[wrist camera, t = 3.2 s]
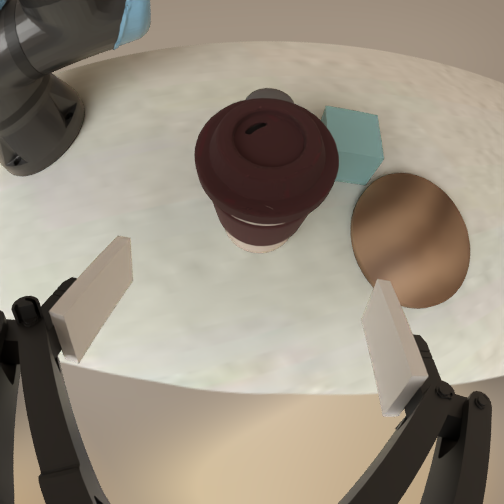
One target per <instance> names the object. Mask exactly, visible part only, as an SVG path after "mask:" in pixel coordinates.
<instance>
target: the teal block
mask: <svg viewBox="0 0 504 504" xmlns="http://www.w3.org/2000/svg"><path fill="white" fill-rule="evenodd" d="M321 121H322V122H323V123H324V125H325V126H326V127H327V128H328V130H329V131H330V133H331V135H332V136H333V138H334V140H335V143H336V146H337V150H338V154H339V169H338V173H337V177H336V180H335V181H340V182H347V183H354V184H361V185H366V184H367V182H368V181H369V179H370V178H371V177H372V175H373V174H374V172H375V171H376V170H377V168H378V167H379V165H380V164H381V162H382V161H383V160H384V156H383V148H382V141H381V135H380V128H379V122H378V116H377V115H374V114H369V113H364V112H359V111H354V110H348V109H343V108H337V107H331V106H326V107H325V110H324V113H323V116H322V119H321Z"/></svg>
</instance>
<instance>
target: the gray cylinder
mask: <svg viewBox="0 0 504 504" xmlns="http://www.w3.org/2000/svg"><path fill="white" fill-rule="evenodd" d="M256 98H272V99H280V100H284V101H288V102H291V103H294V102H293V100H292V99H291V98H290V97H289V96H288V95H287V94H286V93H284V92H282V91H280V90H277V89H271V88H264V89H259V90H256V91H254V92H252V93H251V94H250V95H249V96H248V97H247V98H246V100H248V99H256Z"/></svg>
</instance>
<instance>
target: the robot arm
mask: <svg viewBox="0 0 504 504" xmlns="http://www.w3.org/2000/svg"><path fill="white" fill-rule="evenodd" d="M149 27H150V0H0V163H1V165H2V166H3V167H4V168H6V169H7V170H8V171H9V172H10V173H11V174H13V175H16V176H28V175H32V174H35V173H37V172H39V171H41V170H43V169H45V168H46V167H48V166H49V165H51V164H52V163H53V162H55V161H56V160H57V159H58V158H59V157H60V156H61V155H62V154H63V153H64V152H65V151H66V150H67V149H68V147H69V146H70V145H71V144H72V142H73V141H74V139H75V138H76V136H77V134H78V132H79V130H80V128H81V126H82V123H83V119H84V105H83V102H82V101H81V99H80V97H79V95H78V94H77V92H76V91H75V90H74V89H73V88H72V87H70V86H69V85H68V84H66V83H65V82H63V81H62V80H60V79H59V78H58V77H56V76H55V75H53V74H52V72H54V71H56V70H59V69H61V68H63V67H65V66H68V65H71V64H73V63H75V62H78V61H81V60H83V59H86V58H88V57H91V56H94V55H96V54H99V53H102V52H105V51H108V50H111V49H113V50H114V49H116V48H118V47H119V46H120V45H123V44H126V43H129V42H131V41H134V40H137V39H139V38H141V37H143V36H144V35H145V34H146V33H147V31H148V29H149ZM132 282H133V272H132V258H131V240H130V238H128V237H122V236H117V237H116V238H115V239H114V240H113V241H112V242H111V243H110V244H109V245H108V246H107V247H106V248H105V250H104V251H103V252H102V253H101V254H100V255H99V256H98V257H97V258H96V259H95V260H94V261H93V262H92V263H91V264H90V265H89V266H88V268H87V269H86V270H85V271H84V272H83V273H82V274H81V275H80V276H79V277H78V278H73V277H71V278H70V279H68V280H66V281H64V282H63V283H62V284H61V285H60V286H59V287H58V288H57V290H56V291H55V292H54V293H53V295H51V296H50V297H49V298H48V299H47V301H46V302H45V303H44V304H43V305H42V306H40V303H39V300H38V299H37V298H36V297H33V296H24V297H22V298H19V299H18V300H16V301H15V302H14V304H13V305H12V312H13V315H14V317H15V320H9V319H6V318H5V315H4V313H3V312H2V311H0V504H14V478H13V450H14V428H15V427H14V426H15V414H16V403H17V394H18V386H19V379H20V372H21V377H22V384H23V392H24V398H25V404H26V410H27V416H28V421H29V426H30V430H31V435H32V439H33V444H34V448H35V452H36V455H37V459H38V463H39V466H40V470H41V474H40V475H39V484H40V488H41V491H42V494H43V497H44V500H45V503H46V504H110V502H109V501H108V499H107V498H106V496H105V494H104V492H103V490H102V488H101V486H100V484H99V482H98V479H97V477H96V475H95V472H94V470H93V467H92V465H91V463H90V460H89V457H88V455H87V452H86V449H85V447H84V444H83V441H82V438H81V436H80V433H79V430H78V427H77V424H76V420H75V417H74V414H73V411H72V407H71V404H70V401H69V397H68V393H67V390H66V386H65V382H64V378H63V374H62V370H61V366H60V361H59V358H58V354H59V353H60V351H61V350H62V352H63V355H64V358H65V359H67V360H70V361H72V362H75V363H78V364H79V363H80V361H81V359H82V358H83V356H84V355H85V353H86V351H87V350H88V348H89V347H90V345H91V343H92V342H93V340H94V339H95V337H96V336H97V334H98V332H99V331H100V329H101V328H102V326H103V325H104V323H105V322H106V320H107V319H108V317H109V316H110V314H111V313H112V311H113V310H114V308H115V307H116V305H117V304H118V302H119V301H120V299H121V298H122V296H123V295H124V293H125V292H126V290H127V289H128V288H129V286H130V285H131V283H132ZM361 321H362V325H363V329H364V333H365V337H366V341H367V345H368V349H369V353H370V358H371V362H372V366H373V371H374V375H375V380H376V384H377V389H378V394H379V399H380V404H381V409H382V414H383V416H399V414H400V413H401V412H402V411H403V410H404V409H405V413H406V417H405V418H404V419H403V420H402V421H401V422H400V424H399V425H398V426H397V427H396V431H395V432H394V434H393V435H392V436H391V438H390V439H389V441H388V442H387V444H386V445H385V446H384V448H383V449H382V450H381V452H380V453H379V454H378V456H377V457H376V458H375V460H374V461H373V462H372V464H371V465H370V466H369V467H368V469H367V470H366V471H365V472H364V474H363V475H362V476H361V477H360V479H359V480H358V481H357V482H356V483H355V485H354V486H353V487H352V488H351V489H350V490H349V492H348V493H347V494H346V495H345V496H344V497H343V499H342V500H341V501H340V502H339V503H338V504H398V502H399V501H400V499H401V498H402V496H403V495H404V493H405V492H406V490H407V489H408V487H409V485H410V484H411V482H412V481H413V479H414V478H415V476H416V474H417V472H418V471H419V469H420V467H421V466H422V464H423V462H424V460H425V459H426V457H427V455H428V453H429V451H430V449H431V448H432V446H433V444H434V442H435V440H436V438H437V442H436V447H435V452H434V456H433V460H432V464H431V468H430V472H429V476H428V479H427V483H426V486H425V490H424V493H423V496H422V500H421V503H420V504H483V499H484V492H485V487H486V480H487V472H488V462H489V453H490V440H491V417H492V415H491V414H492V406H491V401H490V400H489V398H488V397H487V396H486V395H485V394H483V393H482V392H478V391H475V392H473V393H472V394H471V395H470V396H469V397H468V398H467V397H463V396H460V395H456V394H455V392H454V390H453V388H452V387H451V386H450V385H449V384H448V383H446V382H444V381H441V378H440V376H439V373H438V370H437V368H436V365H435V363H434V360H433V359H432V355H431V353H430V350H429V348H428V345H427V343H426V342H425V341H424V339H423V338H422V337H421V336H420V335H413V334H412V331H411V329H410V326H409V324H408V321H407V319H406V317H405V314H404V312H403V309H402V307H401V305H400V302H399V300H398V298H397V296H396V293H395V291H394V289H393V287H392V284H391V282H390V281H386V280H380V279H377V281H376V284H375V286H374V289H373V291H372V294H371V296H370V299H369V301H368V304H367V306H366V309H365V311H364V313H363V316H362V318H361ZM437 436H438V437H437Z"/></svg>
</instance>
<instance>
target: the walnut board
mask: <svg viewBox="0 0 504 504" xmlns="http://www.w3.org/2000/svg"><path fill="white" fill-rule="evenodd" d="M351 241H352V247H353V251H354V255H355V258H356V260H357V263H358V265H359V267H360V269H361V271H362V273H363V274H364V276H365V277H366V279H367V280H368V282H369V283H370V284H371V285H372V286H373V288H374V286H375V284H376V281H377V279H380V280H386V281H390V282H391V284H392V287H393V289H394V291H395V293H396V296H397V298H398V300H399V302H400V305H401V306H403V307H408V308H417V309H420V308H427V307H431V306H435V305H438V304H440V303H442V302H445V301H446V300H448V299H449V298H450V297H452V296H453V295H454V294H455V293H456V292H457V290H458V289H459V288H460V286H461V285H462V283H463V281H464V279H465V276H466V274H467V271H468V267H469V260H470V243H469V237H468V232H467V229H466V225H465V223H464V220H463V218H462V216H461V214H460V212H459V210H458V209H457V207H456V206H455V204H454V203H453V201H452V200H451V199H450V198H449V196H448V195H447V194H446V193H445V192H444V191H443V190H441V189H440V188H439V187H438V186H436V185H435V184H433V183H432V182H430V181H428V180H426V179H424V178H422V177H419V176H417V175H413V174H407V173H394V174H389V175H386V176H383V177H381V178H379V179H377V180H376V181H374V182H373V183H372V184H371V185H369V187H368V188H367V189H366V190H365V191H364V193H363V194H362V195H361V197H360V198H359V200H358V202H357V204H356V206H355V208H354V211H353V215H352V220H351Z"/></svg>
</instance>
